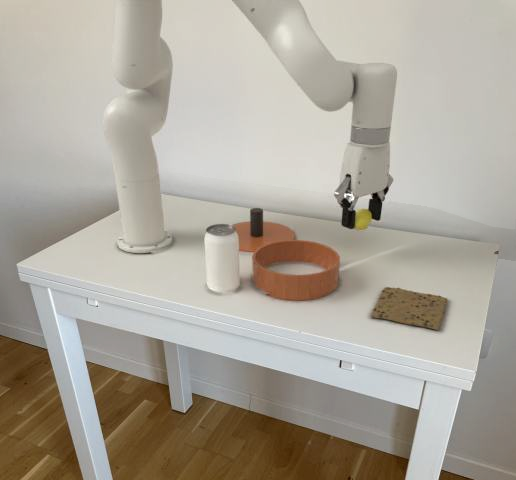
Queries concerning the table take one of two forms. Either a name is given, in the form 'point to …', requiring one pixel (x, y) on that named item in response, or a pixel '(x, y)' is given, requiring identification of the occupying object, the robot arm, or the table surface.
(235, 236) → the can
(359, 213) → the lemon
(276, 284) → the pot
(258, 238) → the lid
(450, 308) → the table surface
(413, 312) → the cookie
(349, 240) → the table surface
